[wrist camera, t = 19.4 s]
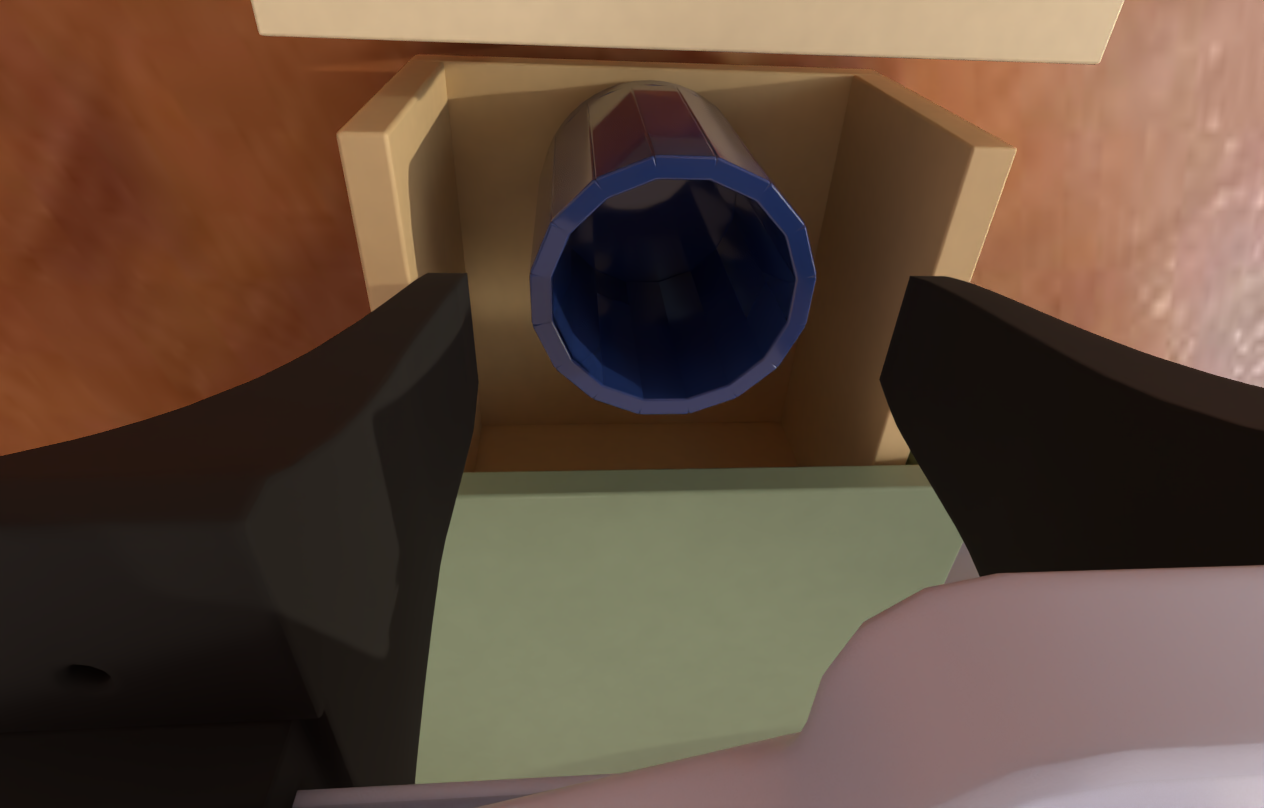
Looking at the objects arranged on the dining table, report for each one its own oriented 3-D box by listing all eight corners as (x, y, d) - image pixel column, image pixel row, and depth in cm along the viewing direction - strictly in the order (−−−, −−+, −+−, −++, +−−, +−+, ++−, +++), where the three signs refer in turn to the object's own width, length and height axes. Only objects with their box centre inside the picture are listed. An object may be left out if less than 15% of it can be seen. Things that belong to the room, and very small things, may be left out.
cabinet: (407, 288, 21) (318, 499, 13) (848, 291, 22) (990, 486, 15) (457, 604, 29) (420, 839, 22) (774, 593, 30) (840, 814, 23)
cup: (537, 75, 16) (523, 152, 11) (761, 83, 16) (842, 159, 11) (544, 284, 19) (535, 416, 14) (732, 285, 19) (788, 414, 14)
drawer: (315, -426, 12) (68, -747, 6) (1000, -365, 13) (1358, -588, 7) (440, 424, 23) (395, 607, 17) (811, 420, 24) (891, 591, 18)
